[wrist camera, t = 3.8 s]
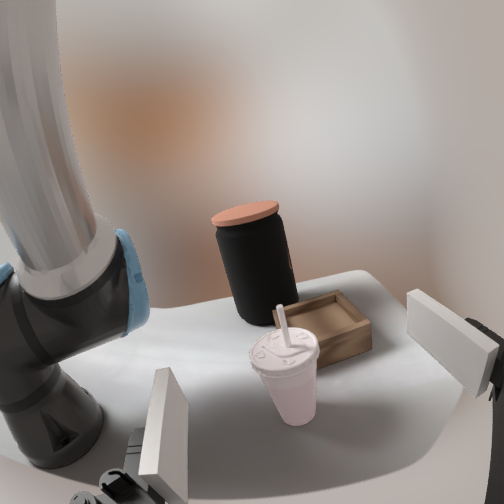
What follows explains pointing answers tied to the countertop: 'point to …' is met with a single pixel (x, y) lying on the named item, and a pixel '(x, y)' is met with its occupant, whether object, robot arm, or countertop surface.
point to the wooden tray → (330, 326)
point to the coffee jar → (256, 260)
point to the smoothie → (288, 370)
